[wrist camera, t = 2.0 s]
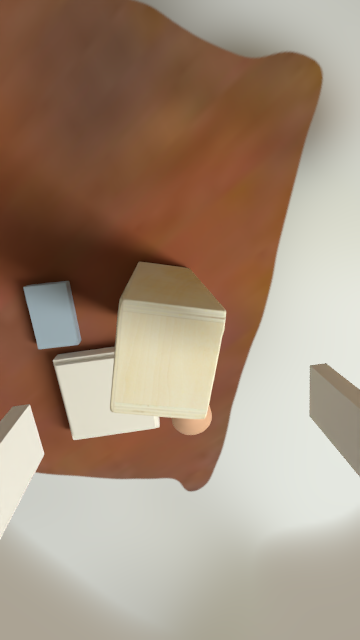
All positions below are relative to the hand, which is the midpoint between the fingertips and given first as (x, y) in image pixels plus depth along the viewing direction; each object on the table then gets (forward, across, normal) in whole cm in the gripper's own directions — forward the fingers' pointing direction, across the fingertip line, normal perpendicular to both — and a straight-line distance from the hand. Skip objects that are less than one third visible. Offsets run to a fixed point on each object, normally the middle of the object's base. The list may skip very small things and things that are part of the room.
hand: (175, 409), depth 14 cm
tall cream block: (+26, 0, 0) cm, 26 cm away
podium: (+26, -9, -12) cm, 30 cm away
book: (+26, -14, 0) cm, 30 cm away
